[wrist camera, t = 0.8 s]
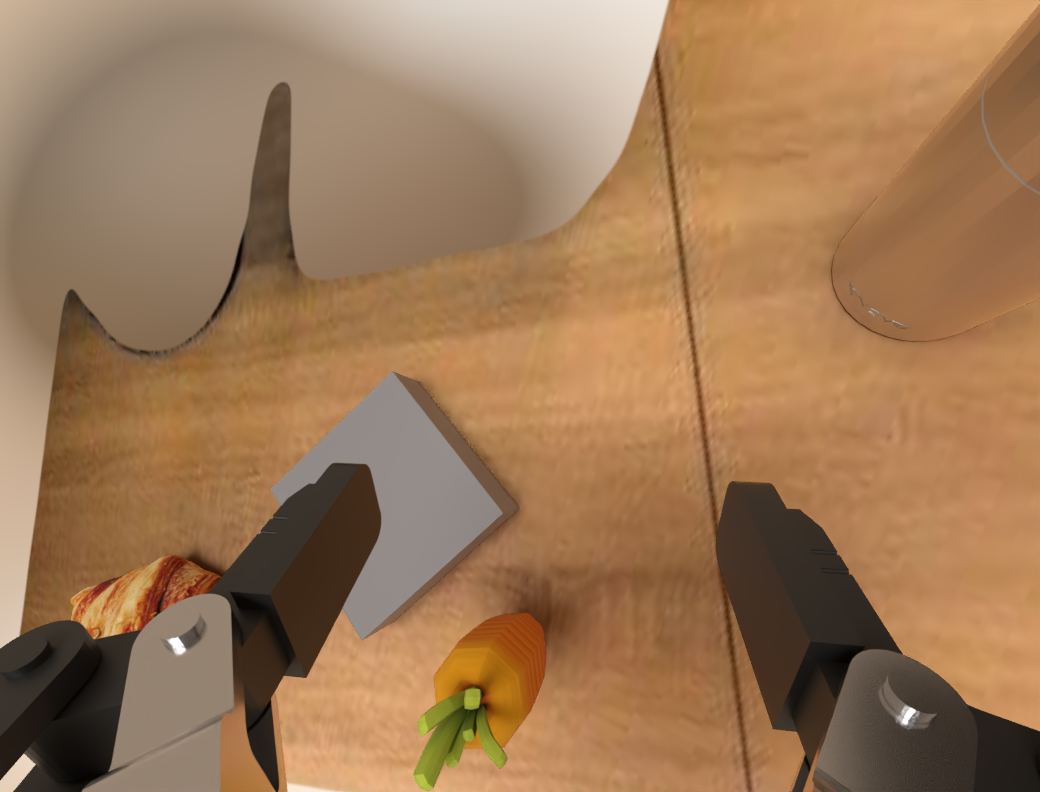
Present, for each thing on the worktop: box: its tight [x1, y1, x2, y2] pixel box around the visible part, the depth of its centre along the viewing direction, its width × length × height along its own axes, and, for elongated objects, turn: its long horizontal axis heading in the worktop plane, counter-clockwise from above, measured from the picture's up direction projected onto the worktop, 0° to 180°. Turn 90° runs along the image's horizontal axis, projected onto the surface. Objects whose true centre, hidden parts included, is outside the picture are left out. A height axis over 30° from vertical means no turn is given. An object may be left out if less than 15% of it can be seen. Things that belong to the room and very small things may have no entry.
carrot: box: [413, 613, 546, 791], centre depth 25 cm, size 5×5×15 cm
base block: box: [270, 371, 520, 640], centre depth 34 cm, size 13×13×4 cm
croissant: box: [71, 555, 221, 639], centre depth 37 cm, size 21×10×8 cm, turn 86°
